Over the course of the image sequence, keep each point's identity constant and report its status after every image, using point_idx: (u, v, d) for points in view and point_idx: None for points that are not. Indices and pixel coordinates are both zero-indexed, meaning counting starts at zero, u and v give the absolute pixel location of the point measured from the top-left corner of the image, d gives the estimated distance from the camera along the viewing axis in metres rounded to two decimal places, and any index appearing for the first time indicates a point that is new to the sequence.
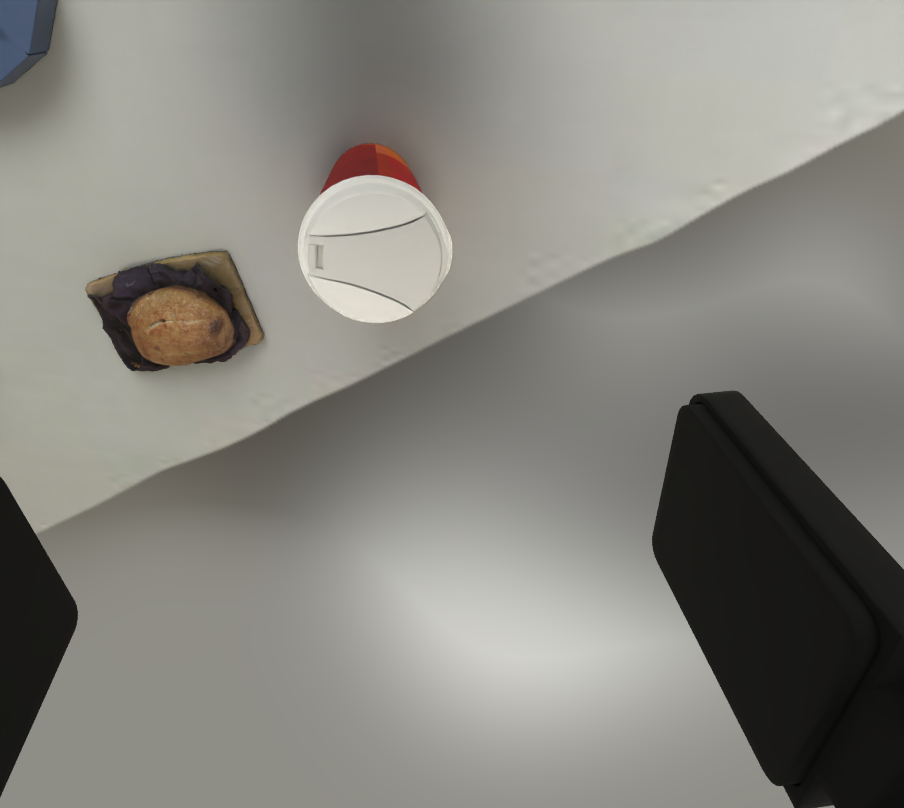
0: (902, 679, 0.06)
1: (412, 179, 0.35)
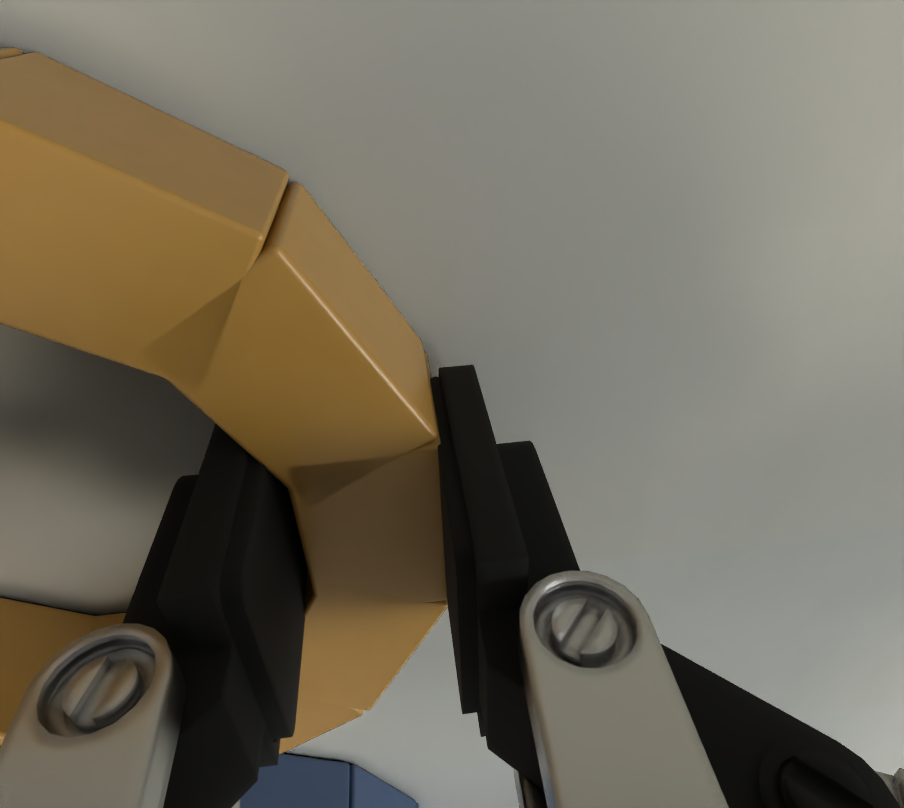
0: (506, 606, 0.06)
1: None
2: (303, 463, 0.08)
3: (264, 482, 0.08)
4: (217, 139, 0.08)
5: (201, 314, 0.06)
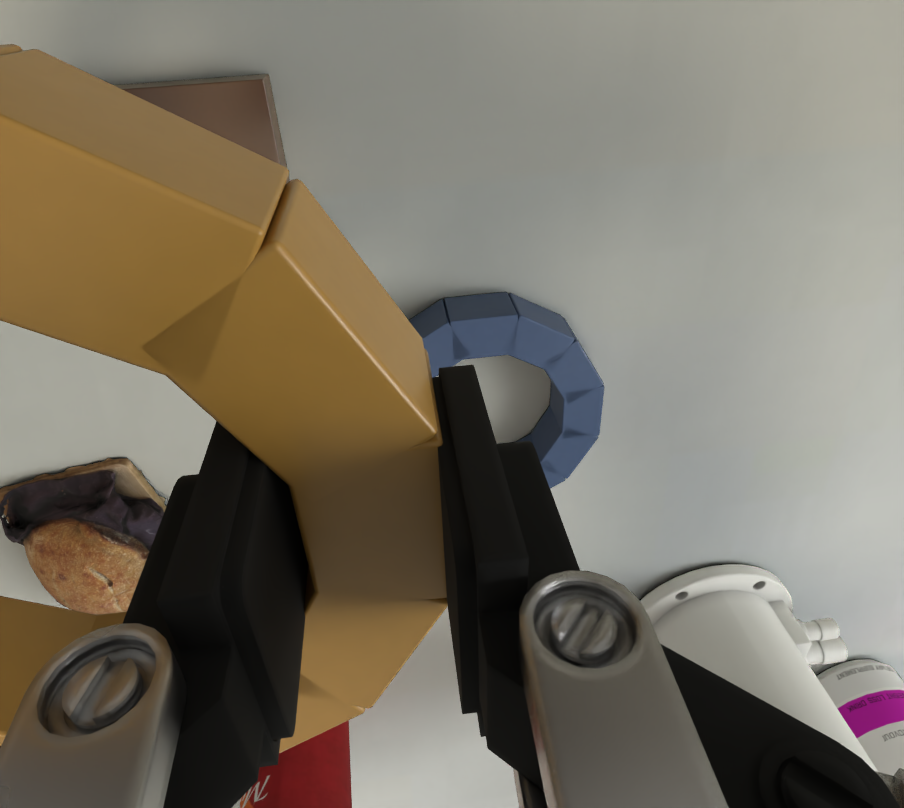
0: (506, 606, 0.06)
1: None
2: (304, 460, 0.08)
3: (264, 482, 0.08)
4: (216, 135, 0.08)
5: (202, 310, 0.06)
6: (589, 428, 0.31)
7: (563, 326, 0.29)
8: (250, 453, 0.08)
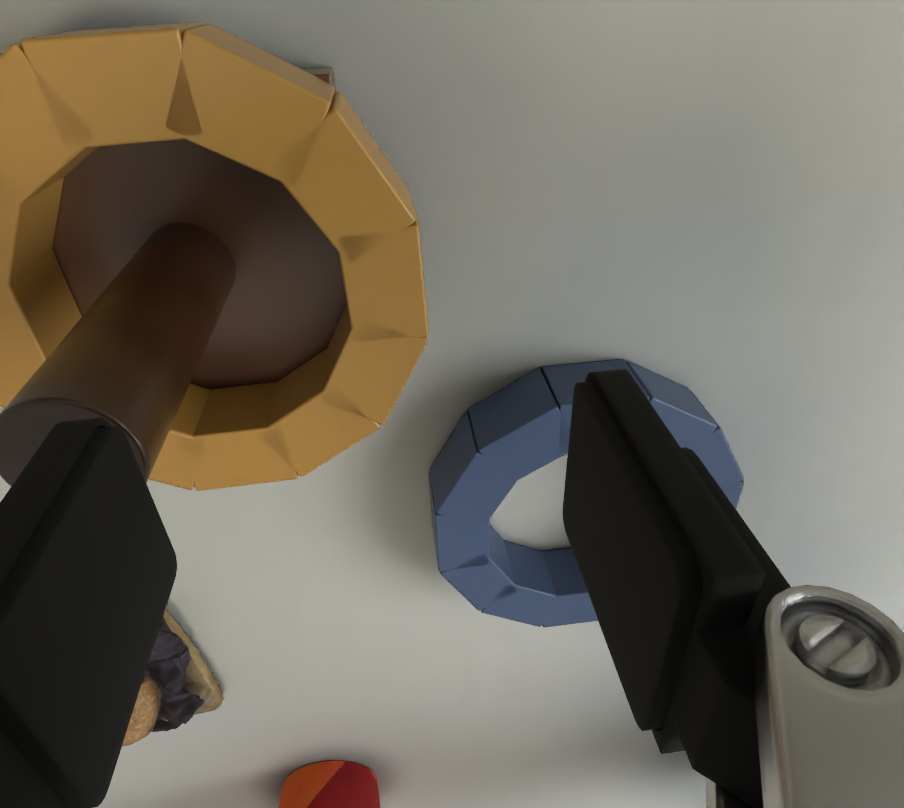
0: (728, 621, 0.06)
1: None
2: (346, 234, 0.15)
3: (64, 532, 0.07)
4: None
5: (300, 143, 0.13)
6: None
7: (698, 406, 0.22)
8: (54, 499, 0.07)
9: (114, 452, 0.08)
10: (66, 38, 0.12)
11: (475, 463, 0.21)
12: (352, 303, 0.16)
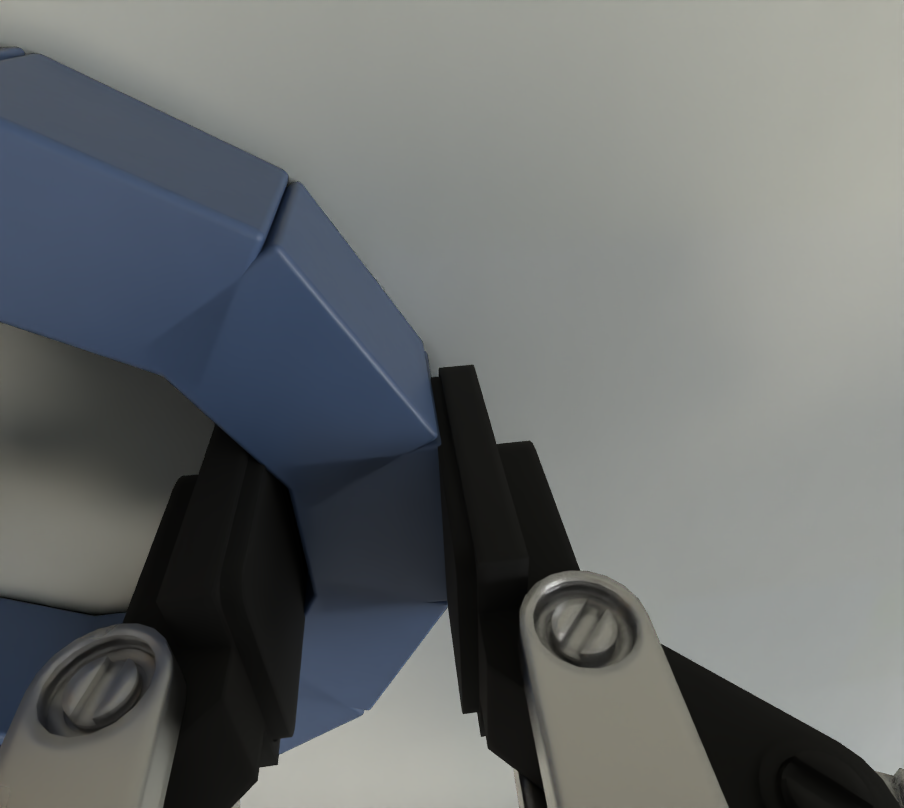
0: (506, 606, 0.06)
1: None
2: None
3: (264, 482, 0.08)
4: None
5: None
6: (411, 582, 0.09)
7: (241, 190, 0.07)
8: None
9: None
10: None
11: None
12: None
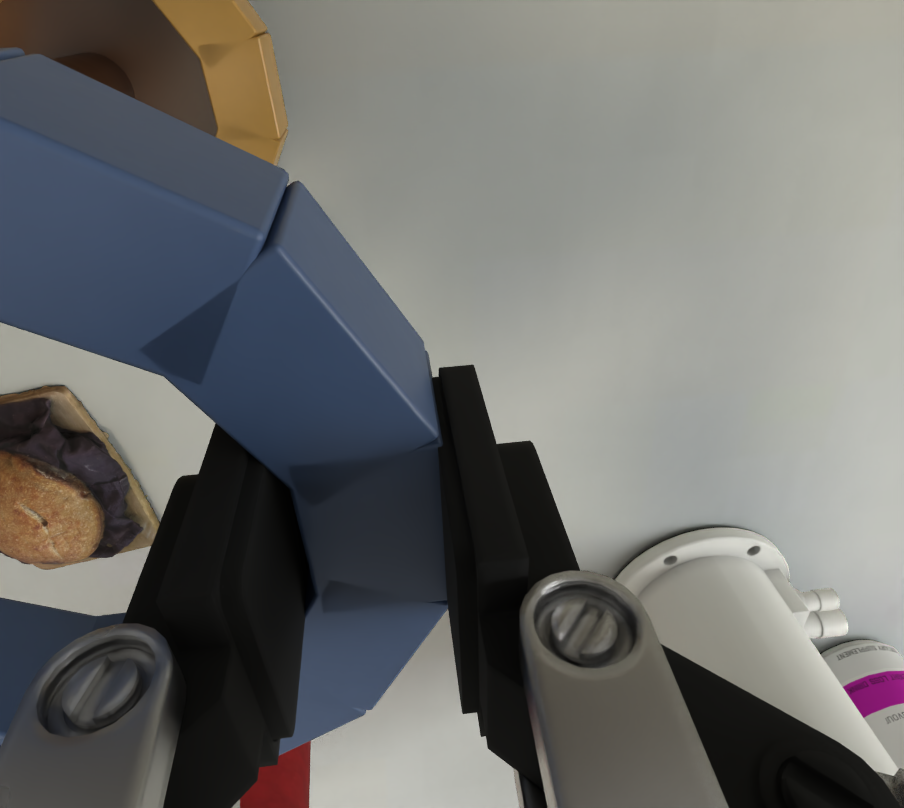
0: (506, 606, 0.06)
1: None
2: (203, 43, 0.19)
3: (264, 482, 0.08)
4: None
5: None
6: (412, 582, 0.09)
7: (242, 189, 0.07)
8: None
9: None
10: None
11: None
12: (215, 105, 0.20)
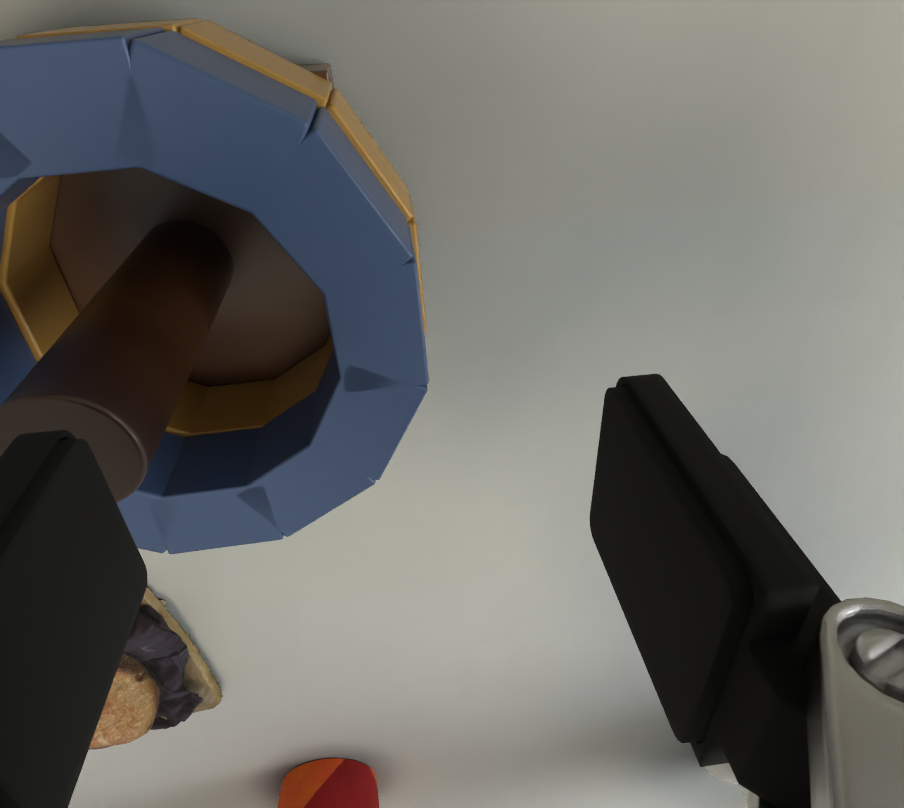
0: (777, 634, 0.06)
1: None
2: None
3: (18, 550, 0.07)
4: (294, 64, 0.15)
5: None
6: (401, 368, 0.14)
7: (293, 103, 0.12)
8: (9, 516, 0.07)
9: (76, 465, 0.08)
10: (62, 34, 0.12)
11: None
12: None
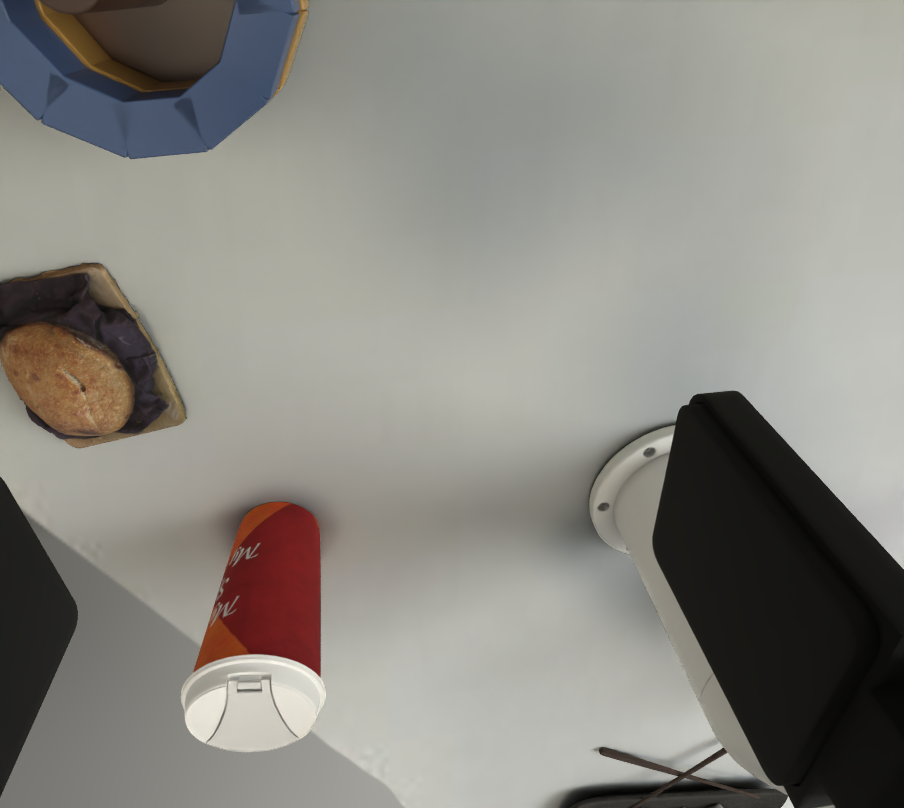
0: (902, 679, 0.06)
1: None
2: None
3: None
4: None
5: None
6: None
7: None
8: None
9: None
10: None
11: None
12: None
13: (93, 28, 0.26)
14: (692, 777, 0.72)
